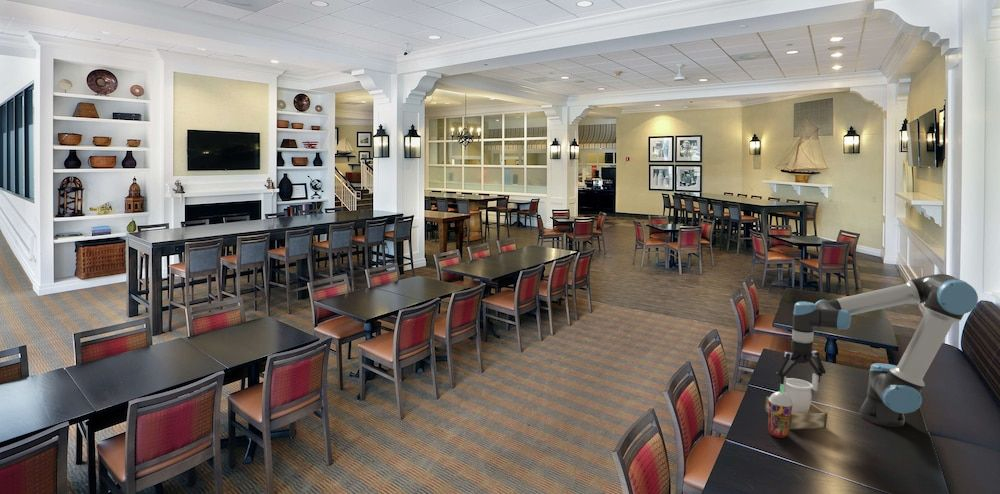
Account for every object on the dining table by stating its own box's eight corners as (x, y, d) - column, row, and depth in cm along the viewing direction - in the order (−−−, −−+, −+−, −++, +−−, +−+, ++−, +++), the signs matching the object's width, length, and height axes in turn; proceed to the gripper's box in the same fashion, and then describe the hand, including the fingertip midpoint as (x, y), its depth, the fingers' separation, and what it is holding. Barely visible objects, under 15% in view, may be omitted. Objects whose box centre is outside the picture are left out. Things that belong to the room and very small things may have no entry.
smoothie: (780, 441, 204) (785, 391, 201) (760, 431, 212) (765, 383, 209) (794, 436, 208) (799, 387, 205) (774, 427, 216) (779, 379, 212)
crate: (799, 409, 232) (801, 395, 231) (826, 428, 215) (827, 413, 214) (764, 410, 230) (766, 396, 229) (788, 429, 214) (790, 414, 213)
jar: (815, 422, 219) (819, 386, 217) (793, 424, 217) (797, 389, 214) (795, 410, 229) (798, 376, 227) (774, 412, 227) (777, 378, 225)
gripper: (825, 336, 223) (821, 385, 226) (767, 338, 220) (764, 388, 224) (838, 342, 215) (833, 392, 218) (778, 344, 213) (774, 395, 216)
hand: (798, 390), depth 221 cm, fingers open, 13 cm apart
